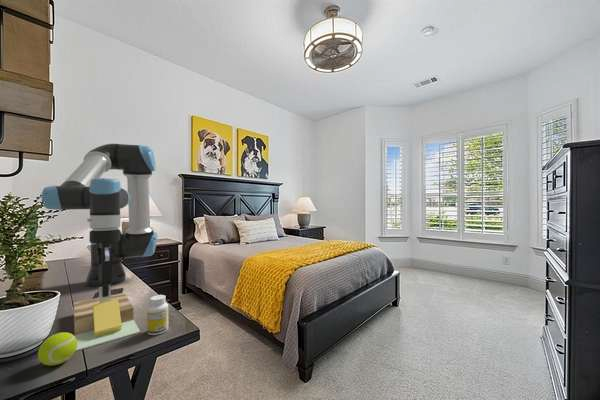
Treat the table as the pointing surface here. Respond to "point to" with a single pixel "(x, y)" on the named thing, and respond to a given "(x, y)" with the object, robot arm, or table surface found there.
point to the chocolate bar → (113, 292)
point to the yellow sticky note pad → (106, 317)
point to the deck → (85, 312)
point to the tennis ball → (57, 348)
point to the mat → (105, 335)
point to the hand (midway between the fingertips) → (104, 306)
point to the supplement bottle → (157, 315)
